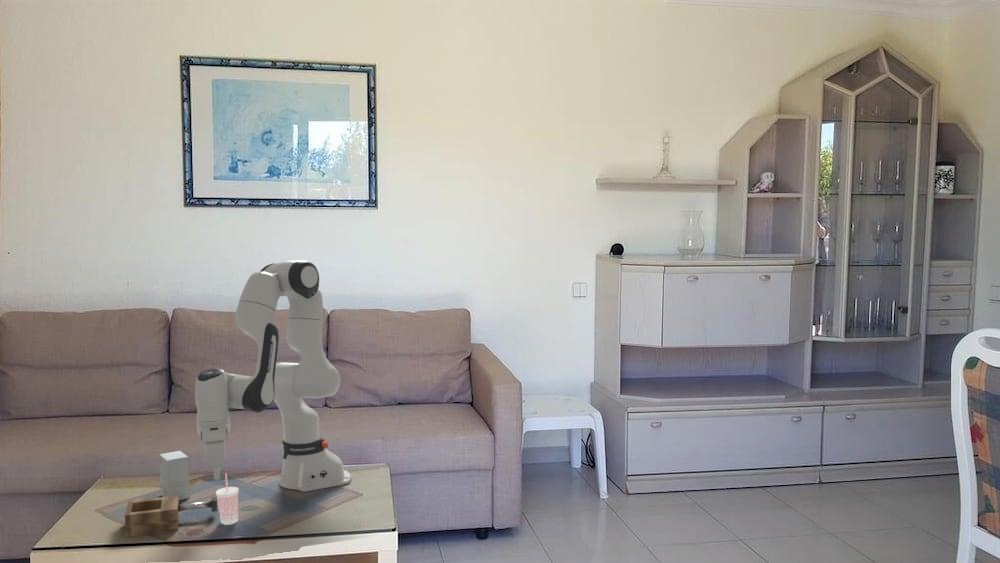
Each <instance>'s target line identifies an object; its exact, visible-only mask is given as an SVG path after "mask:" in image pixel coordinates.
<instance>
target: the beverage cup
mask: <svg viewBox="0 0 1000 563" xmlns="http://www.w3.org/2000/svg"><path fill="white" fill-rule="evenodd" d="M224 476H225V487H222V488H219V489H218V490H216V491H215V497H216V496H217V507H218V511H219V518H220V520H219V521H220V524H221V523H222V524H221V525H223V524H224V525H225V526H226V525H227V526H228V525H234V524H237V522H238V521H239V488H238V487H237V486H228V485H229V483H228V473H227V472H226V473H225V474H224Z"/></svg>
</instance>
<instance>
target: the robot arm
mask: <svg viewBox="0 0 1000 563" xmlns="http://www.w3.org/2000/svg"><path fill="white" fill-rule="evenodd" d="M319 274H320V273H319V270H318V269H317V266H316V265H315V264H314V263H313V262H310V261H307V260H300V259H299V260H285V261H282V262H276V263H270V264H267V265H265V266H264V267H262V268H261V269H260V271H257V272H254V273H252V274H251V275H250V276H249V277H248V279H247V281H246V283H245V285H244V287H243V290H242V292H241V294H240V297H239V301H238V304H237V305H236V310H235V316H234V317H235V318H234V321H235V323H236V325H237V327H238V329H239V330H240V332H242V333H244V335H246V336H248V337H250V338H251V339H253V340H254V341H255V342H256V344H257V347H258V351H257V360H256V365H255V366H256V367H255V373H254V374H253V375H252V376H251V375H242V374H235V373H229V372H226V371H224V369H221V368H218V367H217V368H216V367H215V368H210V369H206V370H203V371H201V372H200V373H198V375H197V376H196V379H195V384H194V402H195V407H196V409H197V410H196V411H197V413H196V431H197V436H199V437H200V438H201V441H202V443H203V444H204V448H205V453H206V459H207V464H208V467H209V469H210V470H212V475H213V480H214V481H217V480H220V479H221V469H222V468H223V467H224V463H225V462H224V461H225V449H226V448H225V447H226V441H227V440H228V435H229V433H230V432H231V421H230V420H231V418H230V412H229V409H230V408H232V409H233V408H234V409H240V410H246V411H249V412H254V413H261V412H264V411H265V410H266V409H267V408H269V407H270V406H271V404H272V403H273V401H274V403H275V404H276V405H277V407H278V409H279V411H280V414H281V419H282V427H283V428H282V429H283V430H282V431H283V439H282V443H281V453H282V456H281V457H282V459H283V461H282V468H281V473H280V480H279V482H278V484H279V486H280V487H281V488H284V489H288V490H297V491H300V492H310V491H317V490H322V489H326V488H327V489H329V488H333V487H338V486H343V485H347V484H349V483H350V482H352V481H351V474H350V472H349V471H348V470H346V469H344V464H343V462H342V460H341V458H340V457H339V456H338V455H336V454H335V453H333V452H331V451H330V450H329V449H327V448H329V442H328V441H327V440H325V439H324V438H323V437H322V436H321V437H320V428H319V427H320V418H319V415H318V413H317V412H316V410H314V408H312V407H310V406H309V405H307V403H306V402H305V401H304V399H305V398H306V399H323V398H329V397H333V396H334V395H336V393H337V392H338V390H339V388H340V386H341V375H340V373H339V370H338V369H337V367H335V366H334V365H333V364H332V363H331V362H330V361H329V360H328V358H327V356H326V354H325V351H324V348H323V322H324V303H323V296H322V295H323V294H322V292H321V290H320V289H319V287H320V275H319ZM281 297H287V300H288V304H289V307H288V313H287V314H288V315H287V325H286V335H285V341H286V344H287V345H288V347H289V348H290V349H292V350H293V351H295V352H297V353H298V354H299V356H300V359H301V361H300V362H287V361H286V362H284V361H283V362H277V360H278V359H277V358H278V350H279V349H278V348H279V338H280V335H279V330H278V328H277V326H275V315H276V309H277V306H278V300H279V299H280V298H281ZM303 398H304V399H303Z"/></svg>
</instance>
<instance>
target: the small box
mask: <svg viewBox="0 0 1000 563" xmlns="http://www.w3.org/2000/svg"><path fill="white" fill-rule="evenodd" d="M189 466H190V465H189V456H188V455H186V454H185V453H184V452H182V451H181V450H177V451H176V450H175V451H172V452H171V451H170V452H166V453H160V454H159V472H160V474H159V475H160V476H159V477H160V496H161V497H169V496H178V499H179V501H182V500H186V499H190V477H189V476H190V472H189V469H190V468H189Z"/></svg>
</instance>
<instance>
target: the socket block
mask: <svg viewBox="0 0 1000 563" xmlns="http://www.w3.org/2000/svg"><path fill="white" fill-rule="evenodd" d="M179 501H180V500H179V499H178V496H169V497H162V496H161V497H152V498H144V499H136V500H128V501H127V506H126V510H125V513H124V526H125V538H130V537H137V536H145V535H153V534H161V533H162V534H163V533H169V532H177V531H179V521H180V511H179V512H178V505H180V504H179Z"/></svg>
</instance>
